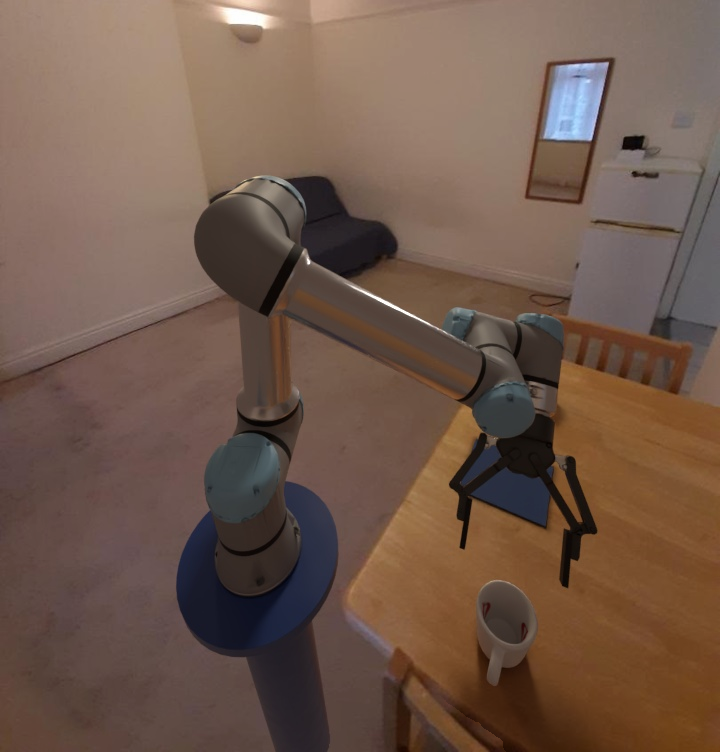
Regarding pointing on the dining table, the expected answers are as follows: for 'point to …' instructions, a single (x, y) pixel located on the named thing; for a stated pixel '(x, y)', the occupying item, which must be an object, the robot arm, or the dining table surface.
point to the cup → (504, 625)
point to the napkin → (510, 489)
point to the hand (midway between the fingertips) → (510, 564)
